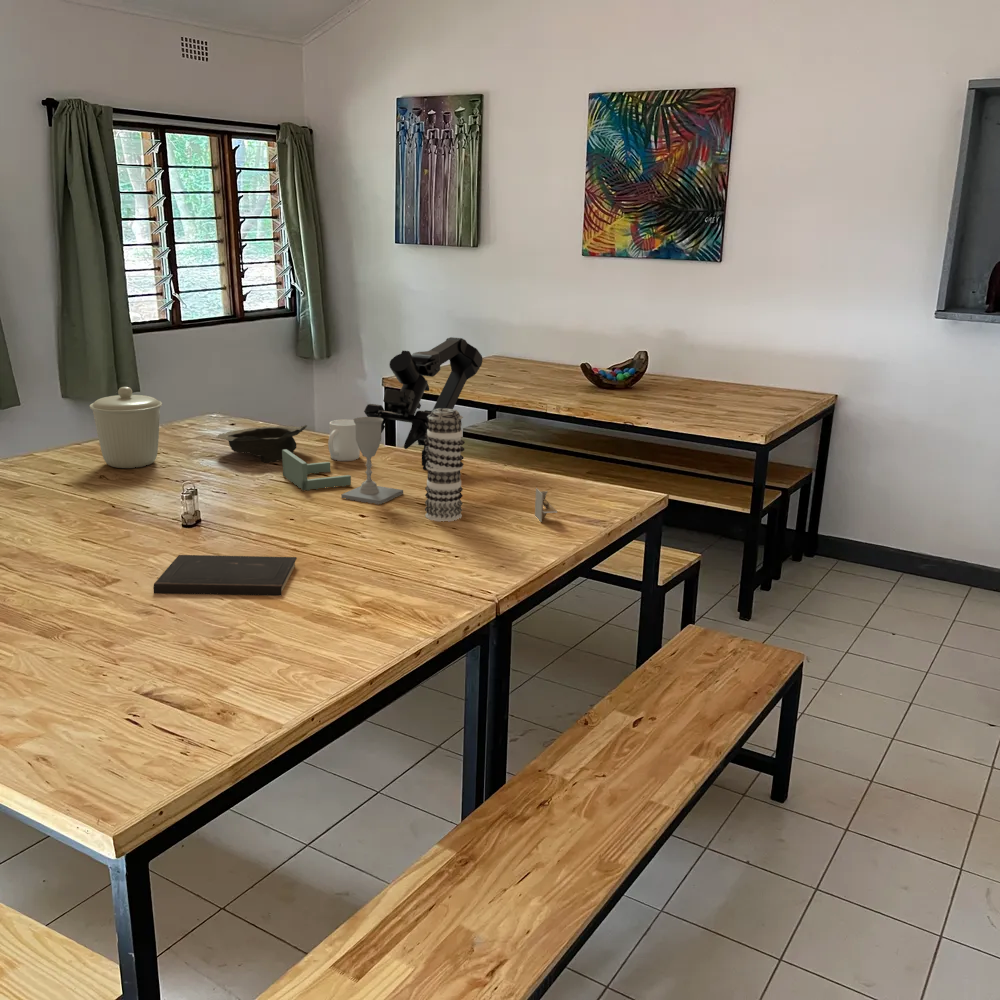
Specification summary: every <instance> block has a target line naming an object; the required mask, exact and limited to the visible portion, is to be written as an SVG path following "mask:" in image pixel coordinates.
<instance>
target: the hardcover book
mask: <svg viewBox="0 0 1000 1000" xmlns="http://www.w3.org/2000/svg"><path fill="white" fill-rule="evenodd" d="M296 561H297V557H296V556H263V555H262V556H257V555H255V556H254V555H252V556H250V555H214V554H213V555H212V554H211V555H208V554H207V555H202V554H201V555H200V554H178V555H177V557H176V558H175V559H174V560H173V561H172V562H171V563H170V564H169V566H168V567H167V568H166V569H165V571H164V572H163V573H162V574H161V575H160V576H159V577H158V579H156V581H155V582H154V584H153V589H152V590H153V594H160V595H161V594H162V595H163V594H164V595H170V594H172V595H209V596H210V595H211V596H212V595H215V596H217V595H219V596H222V595H223V596H225V595H226V596H227V595H228V596H267V597H269V596H274V597H275V596H276V597H277V596H280V597H282V592H283V590H284V588H285V586H286V585H287V583H288V581H289V579H290V577H291V575H292V574H293V571H294V569H295V567H296Z"/></svg>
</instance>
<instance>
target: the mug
mask: <svg viewBox="0 0 1000 1000" xmlns="http://www.w3.org/2000/svg"><path fill="white" fill-rule="evenodd" d="M327 445H328V447H327V448H328V451H329V454H330V458H331V460H334V461H336V460H337V462H352V461H356V459H357V460H358V459H359V458H360V455H361V454H360V453H361V451H360V449H359V447H358V444H357V442H356V424H355V422H354V421H353V419H335V420H331V421H329V437H328V442H327Z"/></svg>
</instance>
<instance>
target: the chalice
mask: <svg viewBox="0 0 1000 1000" xmlns="http://www.w3.org/2000/svg"><path fill="white" fill-rule="evenodd" d="M352 420H353V421H354V422H355V424H356V442H357V444H358V447H359V449H360V453H361V455H362V456H363V457H365V458H366V462H365V467H366V471H365V474H366V479H365V480H364V481H363V482H362V483H361V485H360V486H361V487H360V486H359V487H360V490H359V492H360V493H363V494H375V493H378V492H379V489H378V487H377V486H378V485H377V483H376V482H375V481H374V480H373V479H372V473H373V471H372V466H373V464H372V457H375V455H376V453H377V451H378V449H379V447H380V445H381V442H382V433H381V424H382V422H383V419H382V418H378V417H367V416H360V417H356V418H354V419H352Z"/></svg>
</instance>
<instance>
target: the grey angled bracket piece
mask: <svg viewBox="0 0 1000 1000" xmlns="http://www.w3.org/2000/svg"><path fill="white" fill-rule="evenodd" d="M547 494H548V491H547V490H546V491H540V490H539V489H538V487H536V488H535V499H534V500H535V501H534V517H535V516H536V517H537V518H538V519H539V521H540V522H542V523H543V519H545V518H546V516H547V514H554V513H555V514H557V513H558V510H557V509H556V508H555V507H554V506H553V505H552V504H551V503H550V502H549V501H548V500H547V499H546V497H547ZM544 507H545V509H544ZM536 517H535V518H536ZM537 518H536V519H537ZM539 521H538V522H539ZM540 522H539V523H540Z"/></svg>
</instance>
